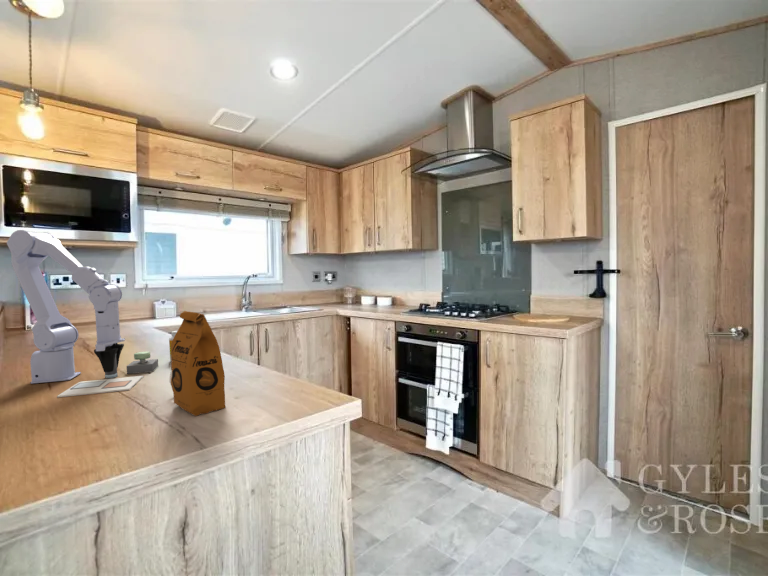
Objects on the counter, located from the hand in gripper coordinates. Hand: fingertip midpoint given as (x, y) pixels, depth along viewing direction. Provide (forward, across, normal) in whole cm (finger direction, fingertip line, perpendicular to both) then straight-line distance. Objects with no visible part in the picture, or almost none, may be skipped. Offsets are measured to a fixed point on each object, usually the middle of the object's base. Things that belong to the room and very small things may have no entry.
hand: (110, 370), depth 117 cm
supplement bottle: (+2, +16, -16) cm, 22 cm away
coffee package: (+2, -38, -30) cm, 48 cm away
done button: (+1, +5, -7) cm, 9 cm away
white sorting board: (+2, -10, -2) cm, 11 cm away
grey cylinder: (+2, 0, 0) cm, 2 cm away
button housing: (+2, +6, -7) cm, 9 cm away
